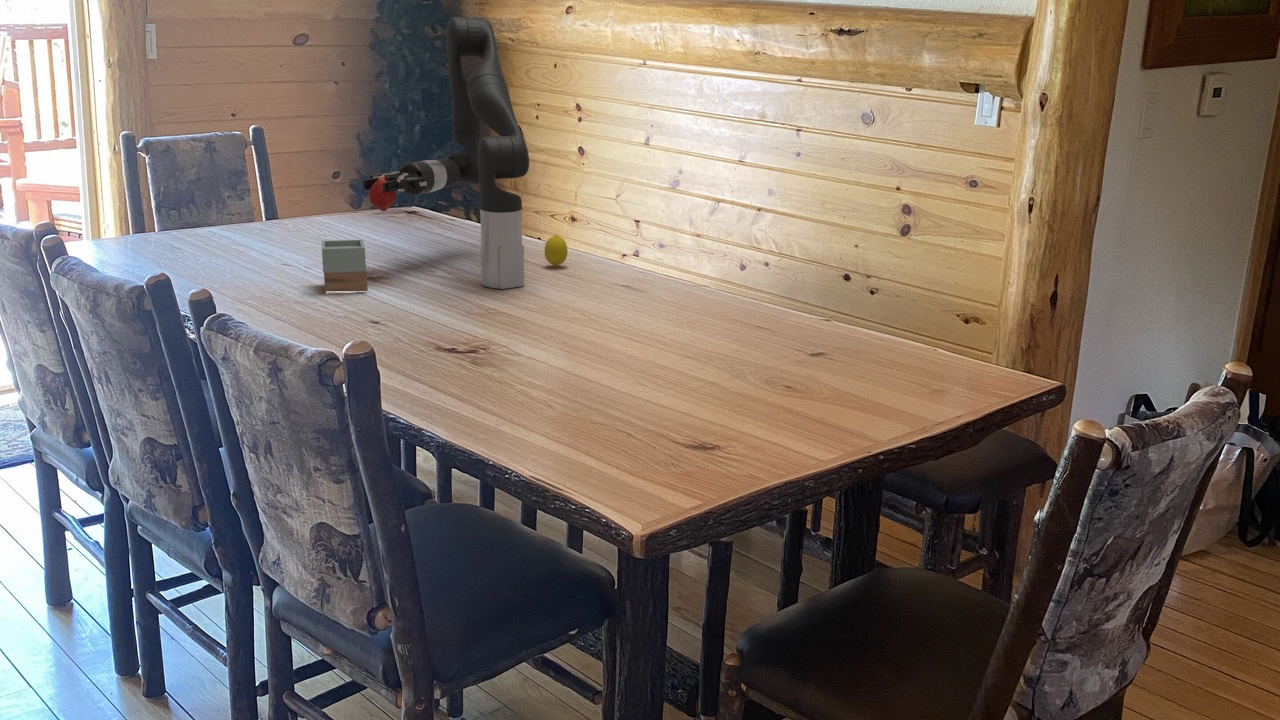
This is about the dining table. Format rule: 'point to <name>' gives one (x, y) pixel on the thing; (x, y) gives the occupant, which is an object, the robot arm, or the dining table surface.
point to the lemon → (556, 250)
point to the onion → (381, 195)
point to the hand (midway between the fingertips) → (374, 186)
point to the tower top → (343, 256)
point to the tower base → (346, 281)
